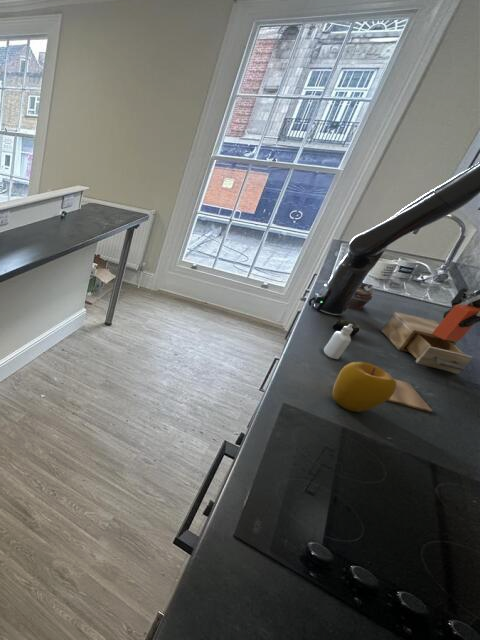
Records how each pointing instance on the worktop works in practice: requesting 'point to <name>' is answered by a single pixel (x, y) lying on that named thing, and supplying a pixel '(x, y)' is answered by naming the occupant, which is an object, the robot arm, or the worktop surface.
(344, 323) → the tape measure
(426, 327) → the cabinet
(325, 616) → the worktop surface
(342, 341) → the eye dropper bottle
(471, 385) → the worktop surface
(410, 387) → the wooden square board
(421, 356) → the drawer
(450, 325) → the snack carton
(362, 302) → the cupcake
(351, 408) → the apple
